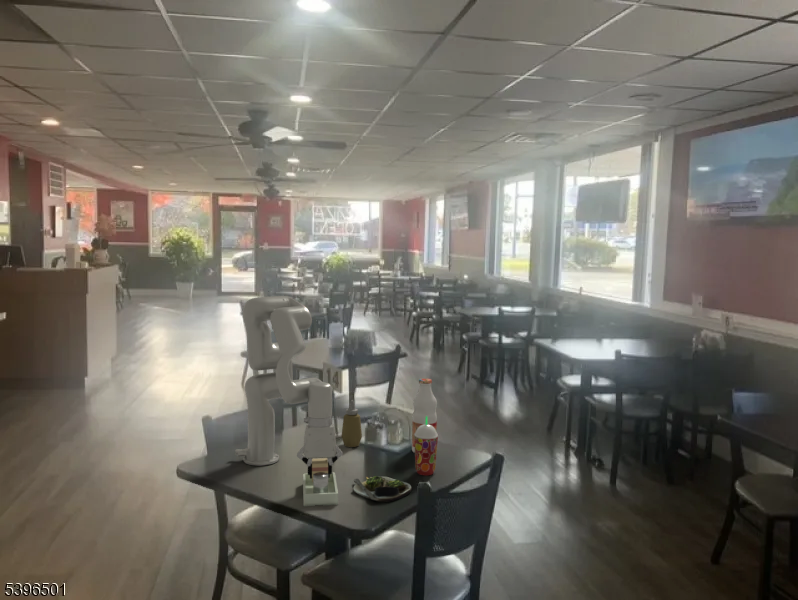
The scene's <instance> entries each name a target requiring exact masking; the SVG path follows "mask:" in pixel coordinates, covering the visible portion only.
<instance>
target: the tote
mask: <svg viewBox="0 0 798 600" xmlns="http://www.w3.org/2000/svg"><path fill="white" fill-rule="evenodd" d="M337 483H338V482H337V477H336V473H335V472H334V471H332V474H330V478H328V493H314V494H313V482H312V478H311V479H310V475H308V472H307V473H303V474H302V492H303V495H302V498H303V502H302V503H303V507H316V506H315V505H323V506H338V505H339V490H338V484H337Z"/></svg>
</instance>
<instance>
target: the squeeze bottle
mask: <svg viewBox="0 0 798 600" xmlns="http://www.w3.org/2000/svg"><path fill="white" fill-rule="evenodd" d="M358 413H359V409H358V408H356V405H355V400H354V399H351V400H350V401H349V405H348V408H346V409H345V414H344V415H343V420H342V421H343V422H342V428H341V439H342V442H343V444H344V447H347V448H356V447H359V445H360V444H361V441H362V437H363V432H362V423H361V422H362V421H361V415H360V414H358Z"/></svg>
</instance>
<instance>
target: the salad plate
mask: <svg viewBox="0 0 798 600" xmlns="http://www.w3.org/2000/svg"><path fill="white" fill-rule="evenodd" d="M365 478H366V480H365V481H361V480H360V479H359V478H354V479H353V482H354V483H355V484H354V486H353V492H354V493H356V494H357V495H359V496H361V497H363V498H366V499H369V500H370V501H374V502H376V503H377V502H378V503H389V502H394V501H397V500H400V499H402V498H405V497H406V496H408V495H409V494H410V493H411V492H412V485H411V484H410V483H408V482H404V481H401V480H399V479H394V478H391V477H388V476H378V475H374V476H373V477H372V476H370V477H368V476H366V477H365Z"/></svg>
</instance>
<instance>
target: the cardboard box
mask: <svg viewBox="0 0 798 600" xmlns="http://www.w3.org/2000/svg"><path fill="white" fill-rule="evenodd" d="M311 463H312V482H313V474H315V473H318V472H325V473H328V458H313V459H312V462H311Z"/></svg>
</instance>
